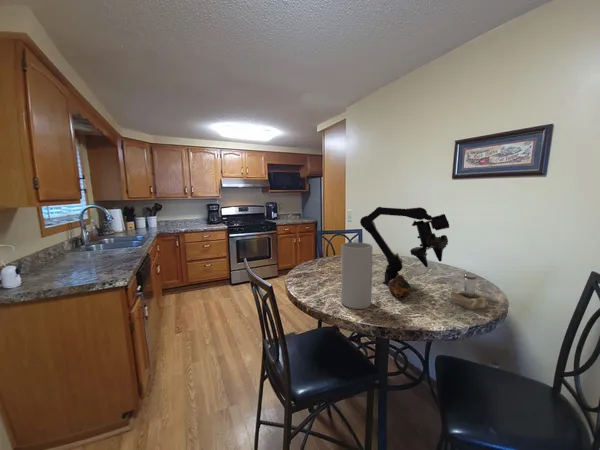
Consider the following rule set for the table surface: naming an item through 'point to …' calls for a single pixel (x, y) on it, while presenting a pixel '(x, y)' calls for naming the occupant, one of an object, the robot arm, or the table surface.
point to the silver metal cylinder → (469, 285)
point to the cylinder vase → (356, 275)
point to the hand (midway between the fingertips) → (433, 264)
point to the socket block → (469, 300)
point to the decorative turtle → (399, 286)
